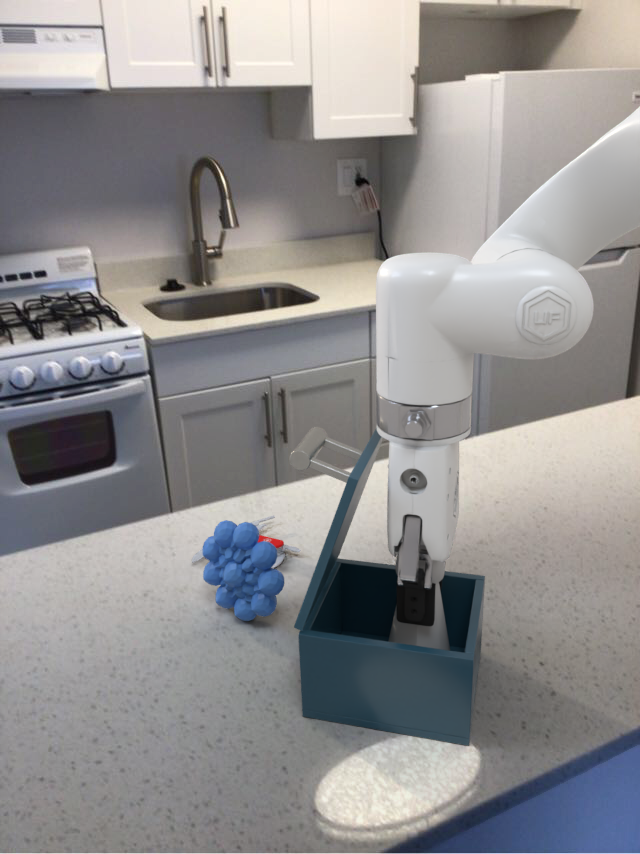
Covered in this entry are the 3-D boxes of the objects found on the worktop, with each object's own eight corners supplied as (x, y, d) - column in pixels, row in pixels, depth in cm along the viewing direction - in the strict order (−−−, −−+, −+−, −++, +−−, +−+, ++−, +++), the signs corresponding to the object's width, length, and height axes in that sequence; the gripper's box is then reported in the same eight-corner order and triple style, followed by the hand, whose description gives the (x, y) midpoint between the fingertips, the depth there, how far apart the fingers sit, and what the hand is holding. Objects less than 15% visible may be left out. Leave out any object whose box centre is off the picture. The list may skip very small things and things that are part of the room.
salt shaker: (373, 672, 70) (372, 550, 65) (416, 646, 74) (418, 528, 69) (419, 705, 66) (422, 577, 61) (462, 676, 69) (468, 552, 65)
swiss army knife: (324, 536, 97) (323, 522, 97) (269, 590, 86) (268, 575, 85) (249, 519, 102) (248, 505, 102) (188, 568, 91) (186, 553, 90)
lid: (389, 421, 68) (326, 396, 69) (358, 480, 57) (283, 449, 58) (338, 555, 75) (281, 531, 76) (302, 631, 64) (235, 602, 64)
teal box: (480, 652, 74) (485, 575, 71) (469, 746, 63) (473, 660, 60) (337, 631, 78) (335, 557, 75) (302, 716, 67) (298, 634, 64)
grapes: (313, 620, 80) (309, 520, 76) (268, 652, 75) (261, 547, 71) (237, 582, 87) (230, 489, 83) (192, 609, 83) (182, 511, 78)
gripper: (460, 457, 52) (451, 674, 58) (479, 382, 67) (471, 561, 74) (353, 449, 54) (357, 659, 60) (395, 378, 69) (395, 552, 76)
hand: (419, 603), depth 67 cm, fingers closed on salt shaker, 4 cm apart
